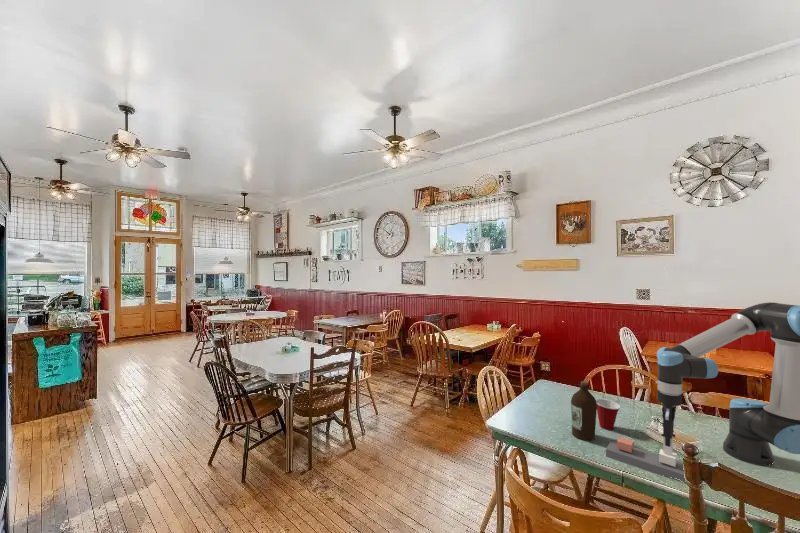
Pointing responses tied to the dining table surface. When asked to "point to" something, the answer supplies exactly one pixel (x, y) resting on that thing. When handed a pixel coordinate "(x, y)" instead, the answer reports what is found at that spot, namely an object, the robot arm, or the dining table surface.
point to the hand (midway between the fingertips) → (667, 453)
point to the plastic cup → (607, 413)
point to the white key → (668, 458)
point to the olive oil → (583, 413)
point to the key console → (645, 461)
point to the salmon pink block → (625, 444)
